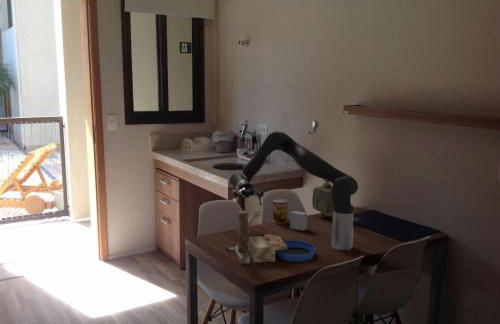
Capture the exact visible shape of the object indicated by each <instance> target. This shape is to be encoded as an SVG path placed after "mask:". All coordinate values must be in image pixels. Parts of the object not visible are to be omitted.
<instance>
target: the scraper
mask: <svg viewBox="0 0 500 324" xmlns="http://www.w3.org/2000/svg"><path fill="white" fill-rule="evenodd" d="M248 214H249V213H248V211H247V210H238V212H237V217H238V218H237V245H235V246H234V251H235V254H236V256H237V258H238V259H237V260H238V262H239V264H245V265H246V264H251V255H250V253H249V251H248V226H249V225H248V223H249V221H248V219H249V217H248V216H249V215H248Z"/></svg>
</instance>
